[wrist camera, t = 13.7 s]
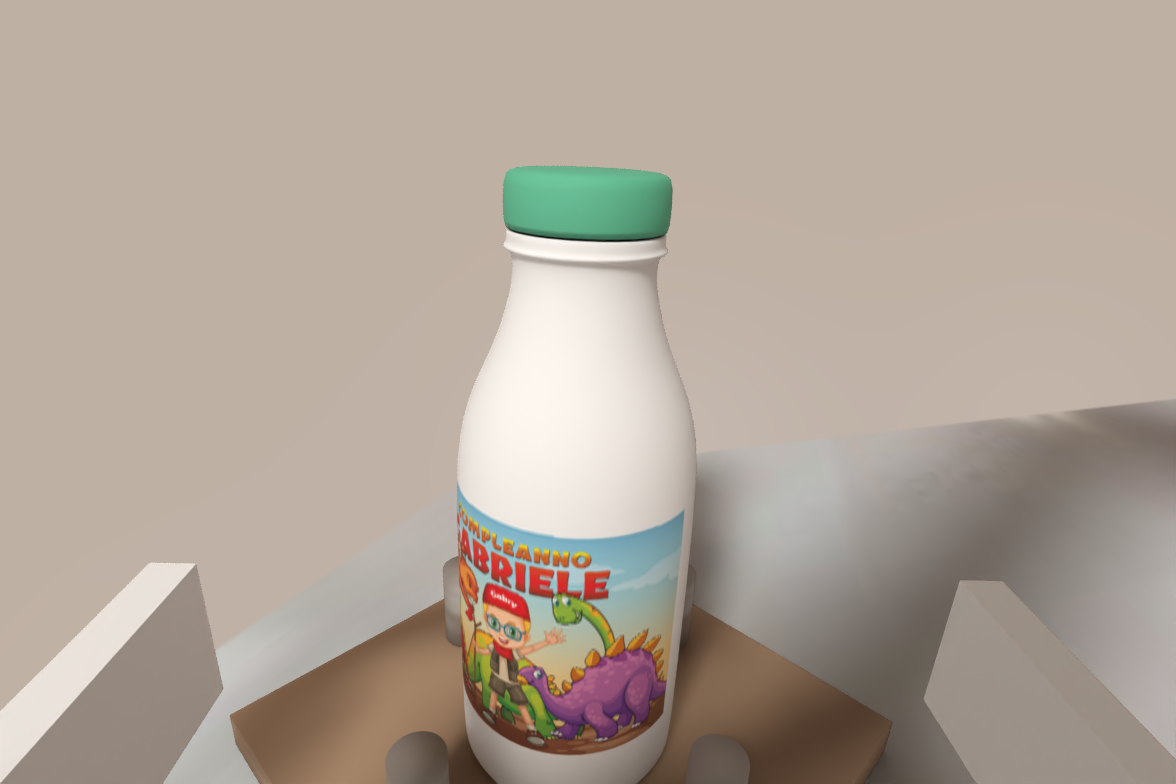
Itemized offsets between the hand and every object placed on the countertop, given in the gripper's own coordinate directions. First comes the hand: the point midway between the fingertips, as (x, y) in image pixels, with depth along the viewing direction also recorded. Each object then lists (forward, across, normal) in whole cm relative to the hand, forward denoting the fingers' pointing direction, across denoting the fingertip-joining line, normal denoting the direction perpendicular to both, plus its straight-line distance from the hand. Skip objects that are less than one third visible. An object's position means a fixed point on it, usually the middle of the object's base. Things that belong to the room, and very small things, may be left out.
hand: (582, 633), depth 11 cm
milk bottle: (+9, 0, -13) cm, 16 cm away
